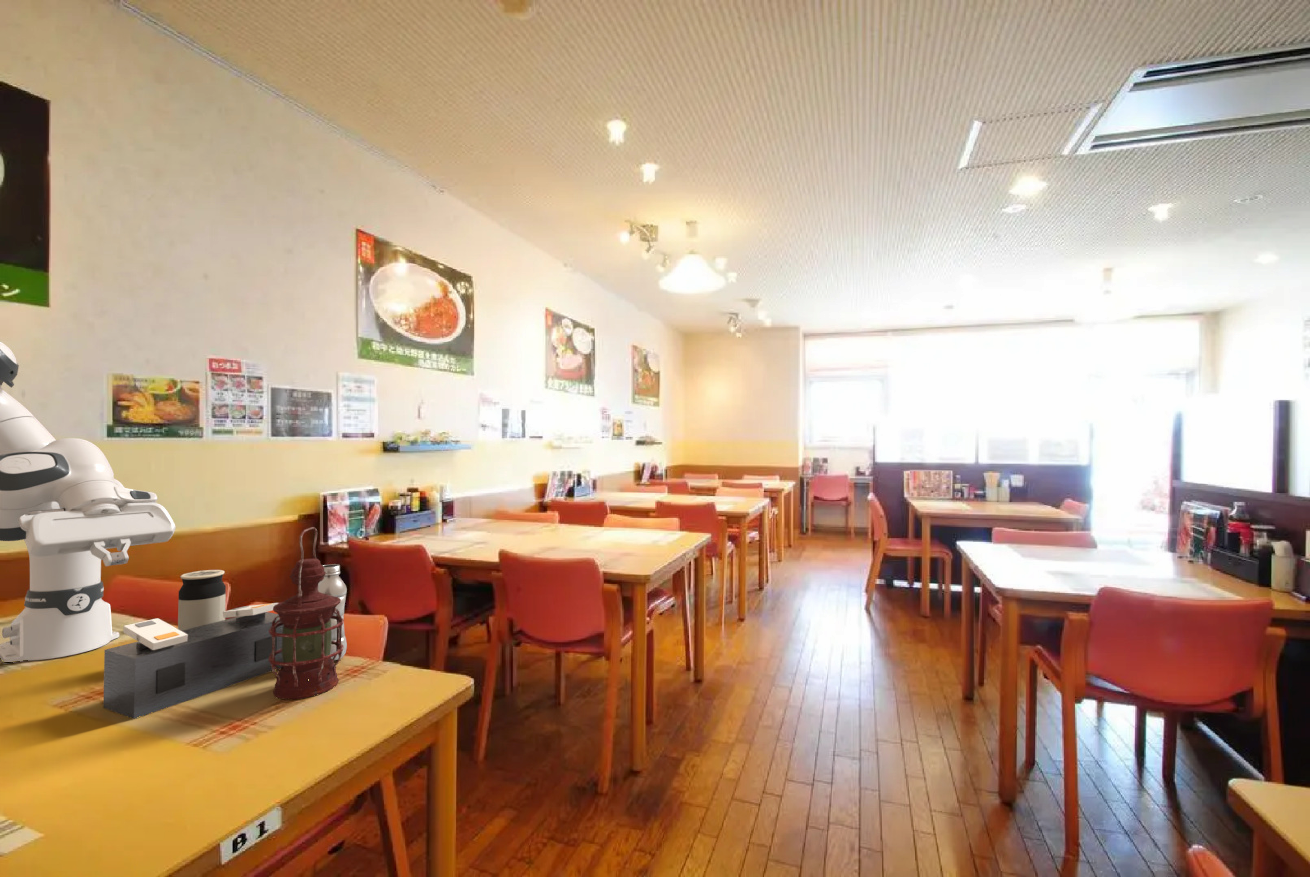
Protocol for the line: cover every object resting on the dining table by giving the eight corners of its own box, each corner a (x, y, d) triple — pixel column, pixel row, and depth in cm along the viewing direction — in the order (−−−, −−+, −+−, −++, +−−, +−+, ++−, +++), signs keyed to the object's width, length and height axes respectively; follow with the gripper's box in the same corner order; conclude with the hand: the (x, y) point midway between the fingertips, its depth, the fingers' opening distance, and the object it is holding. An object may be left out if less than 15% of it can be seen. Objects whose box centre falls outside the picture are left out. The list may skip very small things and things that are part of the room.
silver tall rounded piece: (331, 667, 116) (332, 569, 117) (303, 664, 117) (304, 568, 118) (353, 656, 122) (354, 563, 123) (326, 653, 124) (328, 562, 124)
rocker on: (122, 632, 100) (123, 625, 100) (157, 624, 105) (157, 617, 105) (153, 650, 96) (153, 642, 96) (187, 641, 101) (188, 633, 101)
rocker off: (223, 617, 115) (222, 611, 115) (249, 611, 119) (248, 605, 120) (253, 615, 111) (252, 608, 111) (279, 608, 115) (278, 602, 116)
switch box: (103, 707, 98) (104, 644, 98) (260, 657, 122) (261, 606, 122) (135, 719, 94) (136, 652, 94) (291, 665, 117) (292, 611, 118)
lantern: (330, 698, 102) (332, 531, 102) (254, 705, 99) (256, 533, 100) (352, 672, 113) (353, 523, 114) (284, 677, 111) (286, 524, 112)
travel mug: (223, 658, 121) (224, 574, 121) (174, 666, 116) (176, 579, 117) (225, 648, 127) (227, 568, 128) (180, 655, 123) (181, 572, 123)
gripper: (20, 500, 98) (42, 561, 93) (165, 492, 116) (189, 543, 112) (10, 524, 100) (31, 585, 95) (154, 512, 118) (177, 564, 113)
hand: (117, 562), depth 104 cm, fingers closed
